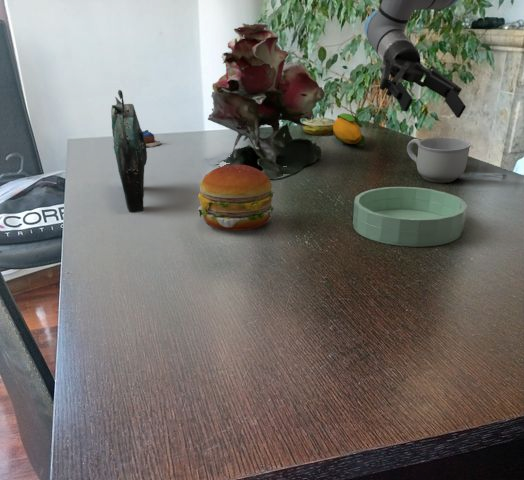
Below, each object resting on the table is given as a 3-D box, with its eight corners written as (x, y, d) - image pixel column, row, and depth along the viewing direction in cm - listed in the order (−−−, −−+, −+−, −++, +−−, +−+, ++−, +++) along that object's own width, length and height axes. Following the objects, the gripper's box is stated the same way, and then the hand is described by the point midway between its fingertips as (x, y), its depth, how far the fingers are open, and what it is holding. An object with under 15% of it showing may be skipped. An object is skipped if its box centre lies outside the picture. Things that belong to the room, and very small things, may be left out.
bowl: (457, 213, 106) (461, 189, 103) (467, 250, 90) (472, 222, 88) (356, 208, 109) (358, 184, 107) (349, 242, 94) (350, 216, 91)
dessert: (125, 143, 157) (131, 123, 157) (136, 153, 164) (141, 134, 164) (151, 147, 155) (157, 127, 155) (161, 158, 162) (166, 137, 162)
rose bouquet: (331, 154, 147) (337, 20, 131) (281, 182, 125) (282, 25, 109) (244, 145, 157) (240, 20, 141) (184, 170, 135) (172, 24, 119)
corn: (354, 108, 162) (373, 120, 145) (354, 136, 166) (373, 151, 149) (328, 110, 162) (345, 123, 145) (329, 138, 166) (345, 154, 149)
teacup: (474, 180, 125) (481, 142, 120) (441, 189, 119) (448, 149, 115) (425, 168, 134) (430, 132, 130) (392, 175, 129) (396, 138, 125)
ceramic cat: (120, 185, 124) (106, 85, 114) (150, 183, 125) (139, 84, 115) (120, 214, 107) (103, 99, 97) (154, 211, 109) (141, 97, 98)
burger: (266, 238, 96) (266, 178, 91) (189, 233, 98) (184, 175, 93) (279, 213, 107) (279, 158, 102) (209, 209, 109) (206, 155, 104)
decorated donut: (343, 131, 173) (344, 118, 171) (325, 137, 165) (326, 123, 163) (314, 127, 178) (315, 115, 176) (295, 133, 171) (296, 120, 169)
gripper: (435, 78, 140) (473, 129, 129) (346, 64, 132) (377, 119, 120) (451, 47, 135) (491, 99, 123) (358, 32, 126) (393, 85, 115)
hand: (435, 109), depth 122 cm, fingers open, 13 cm apart
